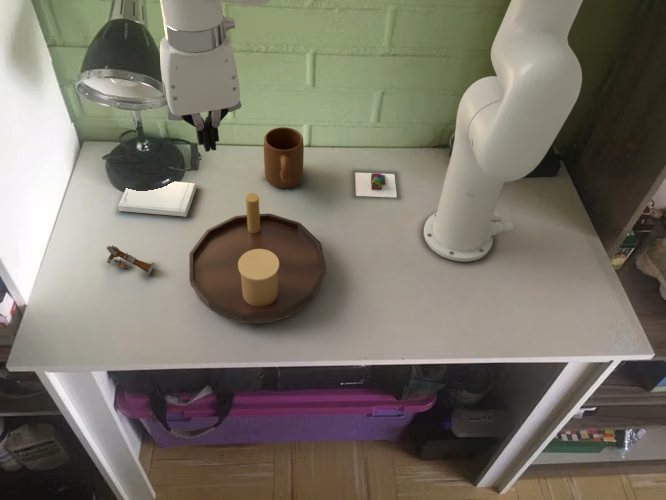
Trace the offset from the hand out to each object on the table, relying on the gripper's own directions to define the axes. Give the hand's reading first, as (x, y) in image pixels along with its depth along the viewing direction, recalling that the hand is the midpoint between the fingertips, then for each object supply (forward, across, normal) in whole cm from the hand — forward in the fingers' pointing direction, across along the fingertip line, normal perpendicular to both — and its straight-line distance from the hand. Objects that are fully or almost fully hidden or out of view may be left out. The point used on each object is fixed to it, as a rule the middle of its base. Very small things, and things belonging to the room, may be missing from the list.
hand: (208, 145), depth 91 cm
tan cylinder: (+18, -3, +16) cm, 24 cm away
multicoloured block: (+21, -33, -5) cm, 39 cm away
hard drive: (+21, +8, -14) cm, 27 cm away
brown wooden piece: (+21, +16, +2) cm, 27 cm away
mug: (+21, -16, -11) cm, 29 cm away
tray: (+19, -4, +10) cm, 22 cm away
